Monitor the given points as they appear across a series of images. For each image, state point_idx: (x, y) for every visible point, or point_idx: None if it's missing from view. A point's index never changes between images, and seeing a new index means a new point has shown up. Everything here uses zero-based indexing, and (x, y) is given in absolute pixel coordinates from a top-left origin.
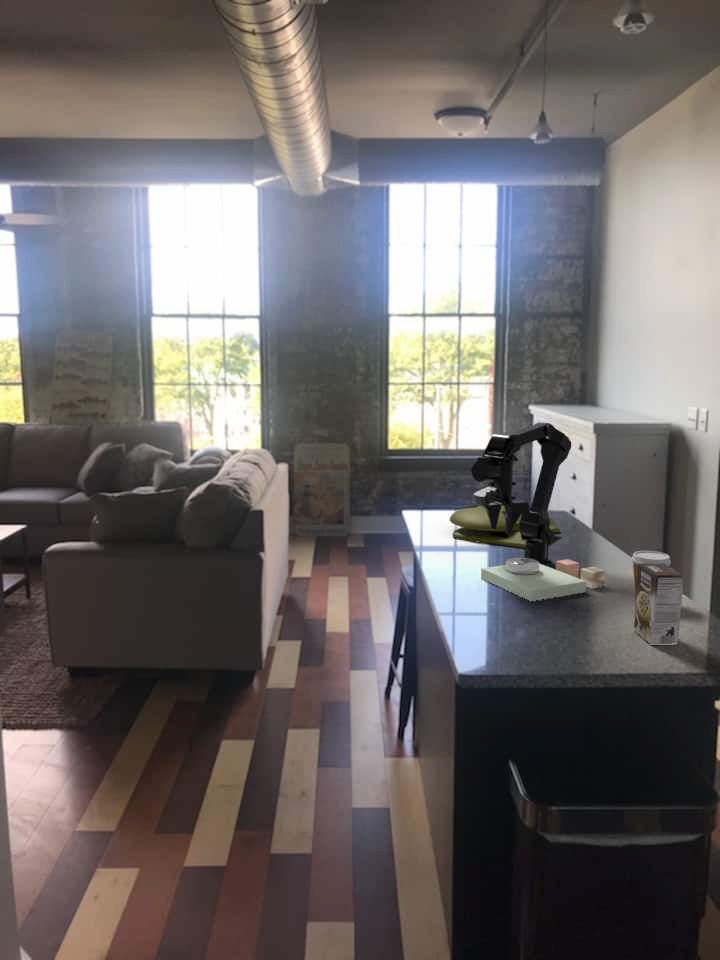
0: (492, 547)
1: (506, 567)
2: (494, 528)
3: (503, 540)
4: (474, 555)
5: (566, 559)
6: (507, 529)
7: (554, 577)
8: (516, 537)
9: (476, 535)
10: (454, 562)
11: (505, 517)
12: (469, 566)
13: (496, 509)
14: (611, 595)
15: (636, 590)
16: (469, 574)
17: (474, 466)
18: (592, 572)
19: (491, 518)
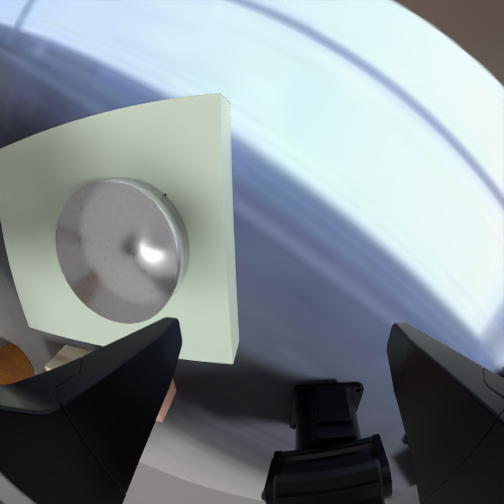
0: (487, 368)
1: (135, 182)
2: (389, 341)
3: None
4: (484, 280)
5: (160, 417)
6: (133, 333)
7: (52, 287)
8: None
9: None
10: (466, 155)
11: (53, 401)
12: (404, 168)
13: (449, 502)
14: (33, 338)
15: (3, 353)
16: (306, 94)
17: None
18: (47, 369)
19: (443, 380)
